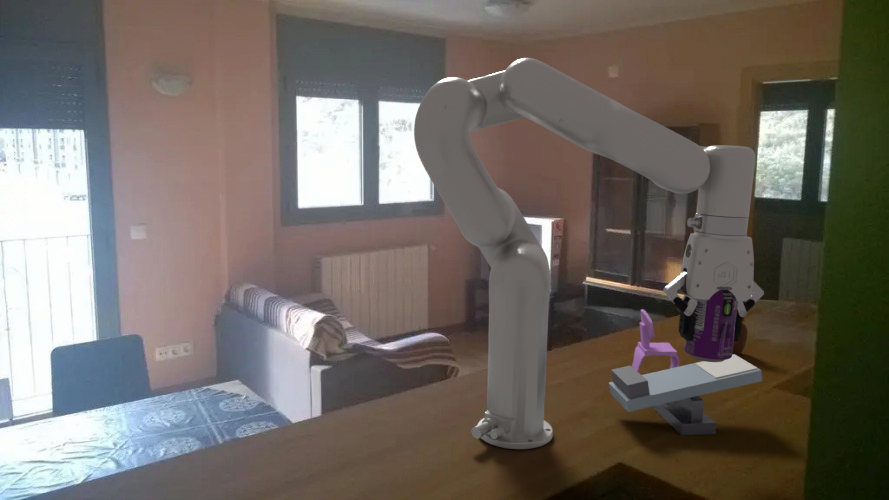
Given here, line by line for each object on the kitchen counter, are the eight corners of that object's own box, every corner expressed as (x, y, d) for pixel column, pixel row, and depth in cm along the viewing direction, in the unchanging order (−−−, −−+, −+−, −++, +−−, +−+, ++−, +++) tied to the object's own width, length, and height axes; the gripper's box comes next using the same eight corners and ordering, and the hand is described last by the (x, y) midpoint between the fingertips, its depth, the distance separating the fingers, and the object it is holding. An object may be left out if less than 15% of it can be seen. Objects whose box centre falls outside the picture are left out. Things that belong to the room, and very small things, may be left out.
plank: (628, 411, 117) (624, 387, 116) (610, 392, 126) (606, 369, 125) (762, 381, 119) (759, 356, 118) (735, 364, 128) (732, 341, 127)
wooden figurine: (747, 352, 164) (752, 290, 162) (742, 358, 159) (748, 295, 157) (717, 347, 167) (722, 286, 165) (712, 353, 163) (717, 291, 160)
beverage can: (735, 366, 106) (744, 289, 104) (687, 361, 107) (694, 285, 105) (726, 353, 113) (734, 280, 111) (681, 348, 114) (688, 277, 112)
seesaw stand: (681, 435, 117) (683, 403, 116) (650, 405, 130) (652, 377, 129) (715, 434, 117) (718, 402, 116) (681, 405, 130) (683, 376, 129)
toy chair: (680, 389, 139) (685, 316, 137) (635, 387, 139) (640, 315, 137) (668, 375, 147) (673, 306, 145) (626, 373, 147) (630, 305, 145)
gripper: (677, 228, 102) (665, 345, 105) (788, 231, 104) (773, 346, 107) (656, 221, 109) (646, 331, 112) (760, 225, 111) (747, 333, 114)
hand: (708, 337), depth 109 cm, fingers closed on beverage can, 6 cm apart
